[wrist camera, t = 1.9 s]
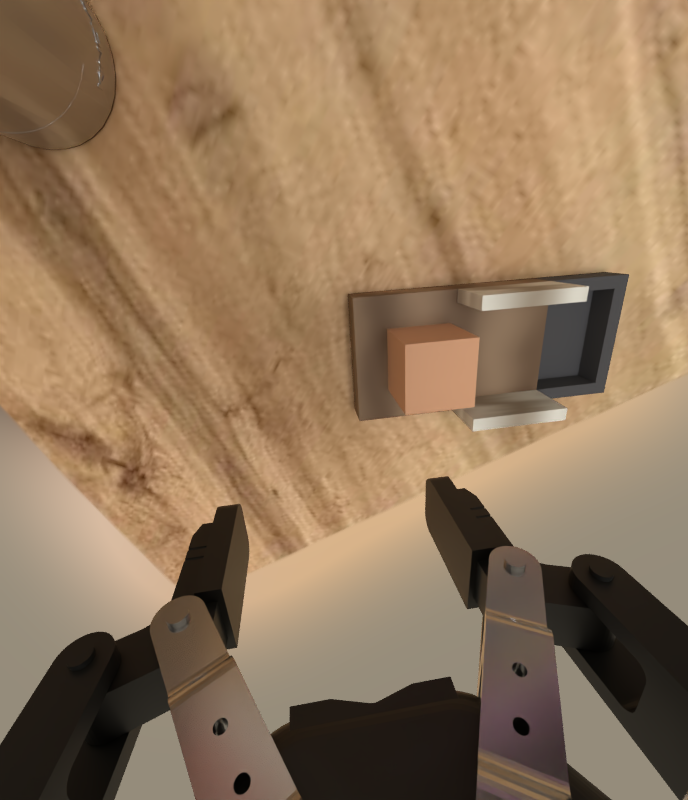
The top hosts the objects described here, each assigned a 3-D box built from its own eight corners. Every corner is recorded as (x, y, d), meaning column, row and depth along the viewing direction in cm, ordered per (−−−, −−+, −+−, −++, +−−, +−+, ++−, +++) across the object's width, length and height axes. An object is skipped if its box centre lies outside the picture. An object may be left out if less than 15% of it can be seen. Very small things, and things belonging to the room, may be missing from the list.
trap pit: (518, 390, 35) (534, 400, 33) (532, 278, 31) (551, 281, 29) (583, 382, 36) (603, 392, 34) (604, 272, 32) (629, 274, 30)
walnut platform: (354, 409, 34) (368, 444, 28) (348, 293, 30) (362, 306, 24) (518, 390, 35) (565, 419, 29) (532, 278, 31) (589, 286, 25)
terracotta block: (388, 389, 31) (405, 415, 26) (387, 328, 29) (405, 344, 24) (447, 383, 31) (474, 407, 27) (450, 322, 29) (479, 337, 25)
